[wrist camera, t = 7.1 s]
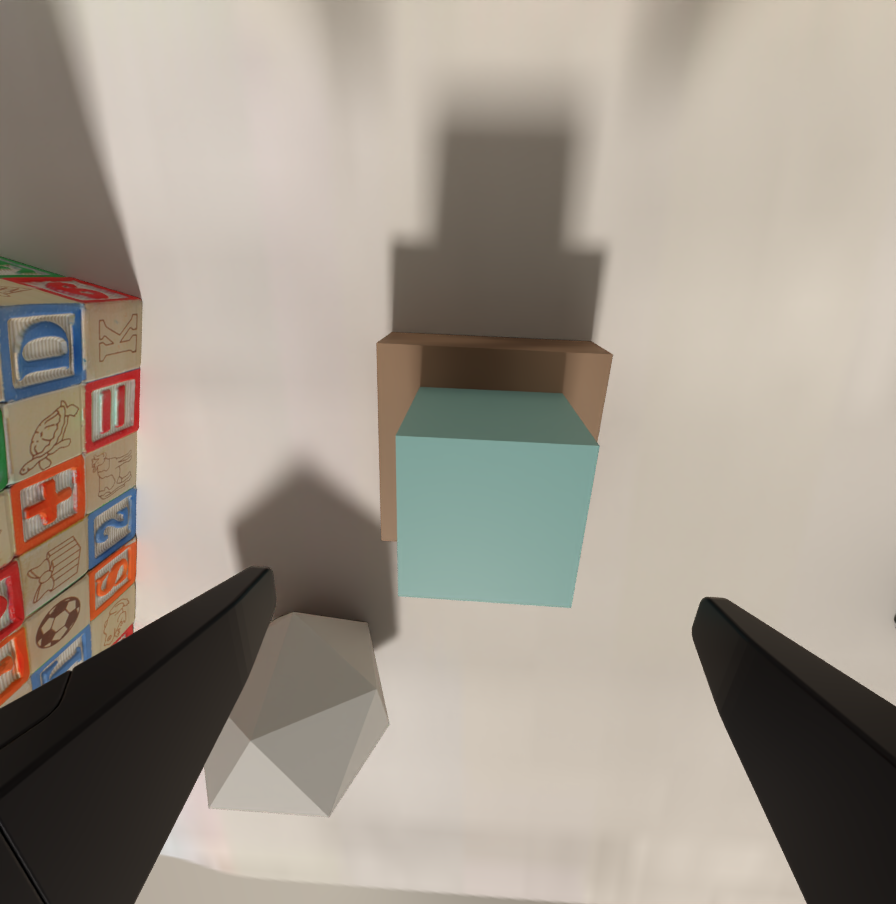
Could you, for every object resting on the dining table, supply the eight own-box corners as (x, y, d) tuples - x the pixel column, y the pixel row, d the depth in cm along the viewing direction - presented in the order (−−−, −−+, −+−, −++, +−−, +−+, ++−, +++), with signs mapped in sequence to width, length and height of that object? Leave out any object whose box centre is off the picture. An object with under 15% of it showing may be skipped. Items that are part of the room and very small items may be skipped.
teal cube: (562, 393, 15) (599, 445, 11) (545, 517, 17) (571, 607, 13) (420, 387, 15) (395, 435, 11) (419, 510, 17) (397, 596, 13)
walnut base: (591, 341, 17) (613, 354, 15) (563, 515, 20) (576, 553, 18) (392, 331, 18) (376, 342, 15) (394, 504, 21) (381, 540, 18)
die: (295, 541, 23) (103, 710, 17) (427, 633, 19) (238, 888, 13) (327, 615, 28) (191, 761, 23) (434, 698, 25) (303, 896, 19)
